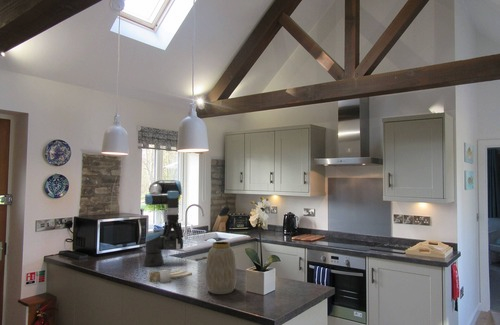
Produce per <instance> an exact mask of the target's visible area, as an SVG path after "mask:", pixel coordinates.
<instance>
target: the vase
mask: <svg viewBox="0 0 500 325" xmlns="http://www.w3.org/2000/svg"><path fill="white" fill-rule="evenodd" d="M230 245H231V244H230V242H229V241H215V242H212V247H211V248H210V249H209V251H208V253H207V256H206V264H205V266H206V267H205V284H206V287H207V290H208V291H209V293H211V294H215V295H227V294H230V293H232V292H233V291H234V289H235V287H236V286H237V262H236V255H235V251H234V249H233V248H232V247H231V246H230Z"/></svg>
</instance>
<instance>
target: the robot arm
mask: <svg viewBox="0 0 500 325" xmlns="http://www.w3.org/2000/svg"><path fill="white" fill-rule="evenodd" d="M182 190H183V189H182V184H181V181H180V180H177V179H173V180H170V179H169V180H168V179H167V180H163V179H162V180H161V179H160V180H156V181H154V182H152V183H151V184H150V185H149V187H148V192H149V193H146V194H144V204H145V205H150V206H151V205H152V206H156V205H166V221H165V222H164V228H163V233H162V232H160V231H159V232H158V231H156V232H151V233H147V235H146V236H145V241H144V242H145V256H144V258H143V259H144V260H143V262H142V266H144V267H149V268H151V267H152V268H153V267H159V266H163V265H165V260H164V257H163V254H162V252H163V251H165V250H164V240H165V239H166V238H167V236H168V235H170V234H173V235H174V236H175V237H176V236H177V239H176V250H181V249H180V244H181V238H182V239H184V235H183V234H184V233H183V229H182V223H181V222H179V217H180V214H179V213H180V212H179V211H180V210H179V209H180V208H179V206H180V205H179V204H180V197H181V195H182V194H183V192H182Z"/></svg>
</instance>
